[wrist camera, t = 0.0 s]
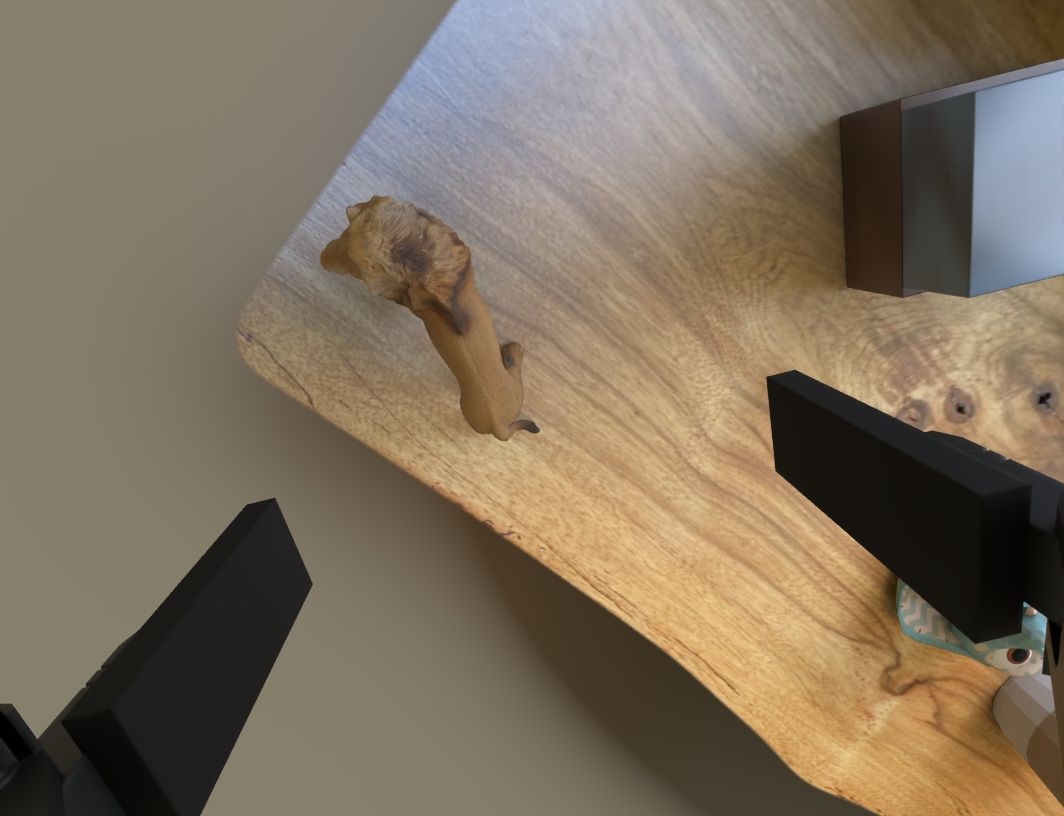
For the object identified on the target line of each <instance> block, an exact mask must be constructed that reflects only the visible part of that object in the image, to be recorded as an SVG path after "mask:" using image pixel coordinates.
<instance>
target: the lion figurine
mask: <svg viewBox="0 0 1064 816" xmlns="http://www.w3.org/2000/svg"><path fill="white" fill-rule="evenodd" d="M346 214H347V216H348V220H349V223H350V224H349V227H348V228H347V229H346V230H345V231H344V232H343V233H342V235H341V237H340V239H336V240H333V241H331V242H330V243H328V244H327V246H326V247H325V249H324V250H323V251H322V253H321V256H320V261H321V265H322V267H323V268H324V269H325V270H327V271H330V272H335V273H337V274H342V275H344V274H349V273H350V274H351V275H352V276H353V277H355V278H357V279H361V280H363V282H364V283H365V285H366V286H368V288H369V291H370V292H371V293H372V294H373V295H374V296H377V295H380V296H384V297H385V298H386V299H388V300H393V301H395V302H396V303H397V304H400V305H403V306H405V307H408V308H409V309H410V310H411V311H412V313H413V314H415V315H416V316H417V317H419V318H421V319H422V320H423V321H424V324H425V327H426V329H427V331H428V334H429V336H430V339H431V341H432V343H433V344H434V346H435V348H436V349H437V351H438V352H439V354H440V356H441V357H442V358H443V360H444V361H445V363H446V364H447V365H448V367H449V368H450V369H451V371H452V372H453V373H454V375H455V376H456V378H457V380H458V382H459V385H460V389H461V399H460V406H461V410H462V413H463V415H464V417H465V419H466V420H467V422H468V423H469V425H470V426H471V427H472V428H473V429H474V430H475V431H476V432H477V433H479V434H486V433H487V434H493V435H494V436H495V437H496V438H497V439H499V440H501V441H507V440H508V439H509V438H510V437H511V436H512V434H513V433H514V432H515V431H517V430H522V429H524V430H527V431H529V432H531V433H538V432H539V431H540V429H539V428H538V427H537V426H536V425H535V423H533V422H532V421H529V420H519V421H516V422H514V421H515V419H516V418H517V416H518V415H519V413H520V410H521V407H522V403H523V398H524V391H523V384H522V380H521V363H522V360H523V348H522V346H521V345H519V344H518V343H515V342H514V343H511V344H508V345H506V346H505V347H504V349H503V356H504V360H505V362H506V365H507V368H506V369H505V368H504V366H503V363H502V359H501V355H500V350H499V345H498V340H497V336H496V332H495V330H494V326H493V322H492V319H491V316H490V313H489V310H488V308H487V306H486V304H485V302H484V300H483V298H482V296H481V295H480V293H479V292H478V290H477V289H476V287H475V286H474V272H473V268H472V266H471V259H470V257H471V252H470V249H469V248H468V247H467V246H465V244H464V243H463V242H462V241H461V240H460V239H459V237H458V236H457V233H455V232H453V230H452V229H451V228H450V227H449V226H446V225H445V224H443V223H442V222H441V220H440V219H437V218H435V217H434V216H433V215H430V214H429V213H428V211H425V210H423V209H417V208H415V207H414V205H413V204H412V203H410V202H401V201H396V200H393V199H390V198H389V197H379V196H376V195H375V196H373V197H372V198H371V200H370V201H369V202H366V203H358V204H356V205H355V206H349V207H347V209H346Z"/></svg>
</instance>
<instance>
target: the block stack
mask: <svg viewBox="0 0 1064 816" xmlns="http://www.w3.org/2000/svg"><path fill="white" fill-rule="evenodd" d="M840 128H841V150H842V173H843V196H844V219H845V242H846V264H847V287H848V288H852V289H857V290H863V291H868V292H874V293H879V294H885V295H890V296H895V297H901V298H904V297H908V296H912V295H916V294H920V293H924V292H934V293H940V294H946V295H953V296H959V297H965V298H971V297H975V296H979V295H984V294H988V293H992V292H996V291H1000V290H1004V289H1008V288H1012V287H1016V286H1020V285H1024V284H1028V283H1032V282H1036V281H1040V280H1044V279H1049V278H1053V277H1057V276H1061V275H1064V58H1062V59H1058V60H1054V61H1050V62H1045V63H1041V64H1037V65H1033V66H1029V67H1025V68H1021V69H1017V70H1013V71H1009V72H1005V73H1001V74H997V75H993V76H989V77H985V78H981V79H977V80H973V81H969V82H965V83H961V84H957V85H953V86H949V87H945V88H941V89H937V90H933V91H929V92H925V93H921V94H917V95H913V96H909V97H904V98H900V99H897V100H894V101H890V102H887V103H884V104H881V105H877V106H874V107H871V108H867V109H864V110H861V111H857V112H854V113H851V114H847V115H844V116H841V117H840Z"/></svg>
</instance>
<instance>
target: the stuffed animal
mask: <svg viewBox="0 0 1064 816" xmlns="http://www.w3.org/2000/svg"><path fill="white" fill-rule="evenodd" d="M896 607H897V612H898V616H899V619H900V623H901V626H902V629H903V632H904V634H906V635H908V636H909V637H911V638H912V639H914V640H916V641H917V642H920V643H924V644H927V645H931V646H935V647H938V648H941V649H945V650H948V651H951V652H954V653H958V654H961V655H964V656H967V657H970V658H973V659H975V660H977V661H979V662H981V663H983V664H985V665H987V666H991V667H993V668H995V669H997V670H999V671H1001V672H1003V673H1005V674H1007V675H1009V676H1016V677H1027V676H1032V675H1034V674H1035V673H1037V672H1038V671H1040V670H1041V669H1042V667H1043V656H1044V646H1045V635H1046V624H1047V618H1046V617H1045V616H1044V615H1042V614H1041V613H1039V612H1038V611H1037V610H1035V609H1034V608H1032V607H1031V606H1030V605H1028V604H1027V603H1025V602H1024V605H1023V618H1022V632H1021V633H1019V634H1015V635H1011V636H1007V637H1003V638H999V639H995V640H991V641H987V642H982V643H978V644H974V643H973V642H972V641H971V640H970V639H969V638H968V637H966V636H965V635H964V634H963V633H962V632H961V631H959V630H958V629H957V628H956V627H955V626H954V625H953V624H951V623H950V622H949V621H948V620H947V619H946V618H944V617H943V616H942V615H941V614H940V613H939V612H938V611H936V610H935V609H934V608H933V607H932V606H931V605H930V604H928V603H927V602H926V601H925V600H924V599H923V598H921V597H920V596H919V595H918V594H917V593H916V592H915V591H913V590H912V589H911V588H910V587H909V586H908V585H906V584H905V583H904V582H903V581H902V580H901V579H900V578H898V581H897V592H896Z"/></svg>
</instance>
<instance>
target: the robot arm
mask: <svg viewBox="0 0 1064 816" xmlns="http://www.w3.org/2000/svg"><path fill="white" fill-rule="evenodd" d="M766 378H767V389H768V399H769V409H770V419H771V430H772V440H773V450H774V461H775V471H776V472H777V473H779V474H780V475H781V476H782V477H783V478H784V479H785V480H787V481H788V482H789V483H790V484H791V485H792V486H794V487H795V488H796V489H797V490H798V491H799V492H800V493H802V494H803V495H804V496H805V497H806V498H807V499H809V500H810V501H811V502H812V503H813V504H814V505H815V506H817V507H818V508H819V509H820V510H821V511H822V512H824V513H825V514H826V515H827V516H828V517H829V518H830V519H832V520H833V521H834V522H835V523H836V524H837V525H838V526H840V527H841V528H842V529H843V530H844V531H845V532H847V533H848V534H849V535H850V536H851V537H852V538H853V539H855V540H856V541H857V542H858V543H859V544H860V545H862V546H863V547H864V548H865V549H866V550H867V551H868V552H870V553H871V554H872V555H873V556H874V557H875V558H877V559H878V560H879V561H880V562H881V563H882V564H883V565H885V566H886V567H887V568H888V569H889V570H890V571H891V572H893V573H894V574H895V575H896V576H897V577H898V578H900V579H901V580H902V581H903V582H904V583H905V584H906V585H908V586H909V587H910V588H911V589H912V590H913V591H915V592H916V593H917V594H918V595H919V596H920V597H921V598H923V599H924V600H925V601H926V602H927V603H928V604H930V605H931V606H932V607H933V608H934V609H935V610H936V611H938V612H939V613H940V614H941V615H942V616H943V617H944V618H946V619H947V620H948V621H949V622H950V623H951V624H953V625H954V626H955V627H956V628H957V629H958V630H959V631H961V632H962V633H963V634H964V635H965V636H966V637H968V638H969V639H970V640H971V641H972V642H973V643H974V644H978V643H982V642H987V641H991V640H995V639H999V638H1003V637H1007V636H1011V635H1015V634H1019V633H1021V632H1022V618H1023V605H1024V602H1025V603H1027V604H1028V605H1030V606H1031V607H1032V608H1034V609H1035V610H1037V611H1038V612H1039V613H1041V614H1042V615H1044V616H1045V617H1046V618H1047V624H1046V635H1045V646H1044V656H1043V667H1042V674H1044V675H1048V676H1051V683H1052V691H1053V698H1054V706H1055V713H1056V721H1057V728H1058V736H1059V743H1060V751H1061V758H1062V766H1063V773H1064V483H1062V482H1059V481H1057V480H1055V479H1053V478H1051V477H1048V476H1046V475H1044V474H1042V473H1040V472H1037V471H1035V470H1033V469H1031V468H1029V467H1026V466H1024V465H1022V464H1020V463H1018V462H1015V461H1013V460H1011V459H1009V460H1006V457H1004V456H1002V455H1000V454H998V453H996V452H993V451H991V450H989V451H987V450H986V448H985V447H982V446H980V445H978V444H976V443H974V442H971V441H969V440H967V439H965V438H963V437H959V436H954V435H950V434H945V433H941V432H937V431H928V432H923V431H921V430H919V429H917V428H915V427H913V426H911V425H909V424H906V423H904V422H902V421H900V420H898V419H896V418H894V417H892V416H890V415H888V414H886V413H884V412H882V411H879V410H877V409H875V408H873V407H871V406H869V405H867V404H865V403H863V402H861V401H859V400H857V399H855V398H853V397H850V396H848V395H846V394H844V393H842V392H840V391H838V390H836V389H834V388H832V387H830V386H828V385H826V384H824V383H821V382H819V381H817V380H815V379H813V378H811V377H809V376H807V375H805V374H803V373H801V372H799V371H797V370H792V371H788V372H784V373H780V374H776V375H772V376H768V377H766ZM312 585H313V584H312V581H311V579H310V576H309V574H308V572H307V570H306V567H305V565H304V563H303V561H302V559H301V556H300V554H299V551H298V549H297V547H296V545H295V542H294V540H293V538H292V535H291V533H290V531H289V528H288V526H287V524H286V522H285V519H284V517H283V515H282V512H281V510H280V508H279V505H278V503H277V501H276V499H275V498H272V499H268V500H265V501H260V502H256V503H252V504H248V505H246V506H245V507H244V508H243V510H242V511H241V512H240V513H239V514H238V515H237V517H236V518H235V519H234V520H233V521H232V522H231V524H230V525H229V526H228V527H227V528H226V529H225V531H224V532H223V533H222V534H221V535H220V536H219V538H218V539H217V540H216V541H215V542H214V543H213V545H212V546H211V547H210V548H209V549H208V550H207V552H206V553H205V554H204V555H203V556H202V557H201V558H200V560H199V561H198V562H197V563H196V565H194V567H193V568H192V569H191V570H190V571H189V573H188V574H187V575H186V576H185V577H184V578H183V580H182V581H181V582H180V583H179V584H178V585H177V586H176V588H175V589H174V590H173V591H172V592H171V593H170V595H169V596H168V597H167V598H166V599H165V600H164V602H163V603H162V604H161V605H160V606H159V607H158V609H157V610H156V611H155V612H154V613H153V614H152V616H151V617H150V618H149V619H148V621H146V623H145V624H144V625H143V626H142V627H141V629H139V630H138V631H137V632H136V633H135V634H133V635H132V636H131V637H130V638H128V639H127V640H126V641H125V642H123V643H122V644H121V645H119V647H118V648H117V649H116V650H115V651H114V652H113V653H112V655H111V656H110V657H109V658H108V659H107V660H106V661H105V663H104V664H103V665H102V666H101V670H98V671H97V672H96V673H95V674H94V675H93V676H92V677H91V679H90V680H89V681H88V682H87V683H86V688H82V689H81V690H80V691H79V692H78V694H77V695H76V696H75V697H74V698H73V699H72V700H71V701H70V703H69V704H68V705H67V706H66V707H65V709H64V710H63V711H62V712H61V713H60V714H59V715H58V716H57V718H56V719H55V720H54V721H53V722H52V723H51V724H50V726H49V727H48V728H47V729H46V730H45V731H44V733H43V734H42V735H41V736H40V737H39V738H38V739H37V738H36V737H35V735H34V734H33V733H32V731H31V730H30V728H29V727H28V726H27V724H26V723H25V722H24V720H23V719H22V717H21V716H20V714H19V713H18V712H17V711H16V709H15V708H14V707H13V705H12V704H0V816H200V815H201V813H202V811H203V809H204V807H205V805H206V802H207V801H208V798H209V796H210V794H211V792H212V790H213V788H214V786H215V784H216V782H217V780H218V778H219V776H220V774H221V772H222V770H223V767H224V766H225V764H226V762H227V759H228V757H229V755H230V753H231V751H232V749H233V747H234V745H235V743H236V741H237V739H238V737H239V735H240V732H241V731H242V729H243V727H244V725H245V722H246V720H247V718H248V716H249V714H250V712H251V710H252V708H253V706H254V704H255V702H256V700H257V698H258V696H259V693H260V692H261V690H262V688H263V685H264V684H265V681H266V679H267V677H268V675H269V673H270V671H271V669H272V667H273V665H274V663H275V661H276V659H277V657H278V655H279V653H280V651H281V649H282V647H283V644H284V642H285V640H286V638H287V636H288V634H289V632H290V630H291V628H292V626H293V624H294V621H295V620H296V618H297V616H298V613H299V611H300V610H301V607H302V605H303V603H304V601H305V599H306V597H307V595H308V593H309V591H310V589H311V587H312Z"/></svg>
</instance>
